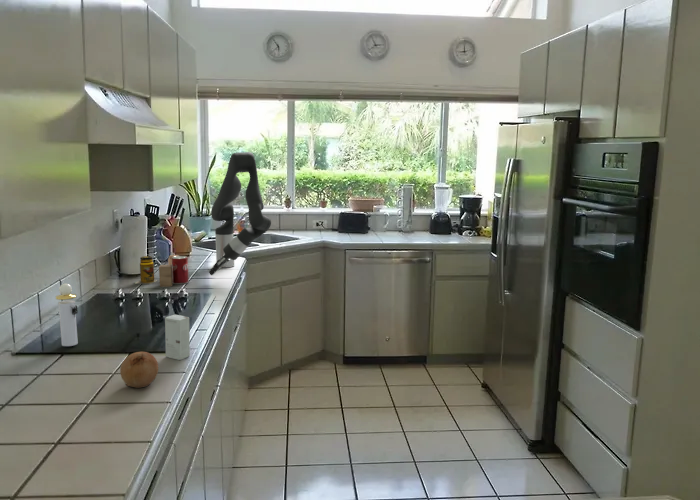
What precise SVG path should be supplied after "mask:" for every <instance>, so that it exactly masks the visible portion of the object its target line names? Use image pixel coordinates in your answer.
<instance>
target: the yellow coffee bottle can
mask: <svg viewBox="0 0 700 500" xmlns="http://www.w3.org/2000/svg"><path fill="white" fill-rule="evenodd" d="M139 271H140V272H139V273H140V280H138V281H136V282H135V284H143V285H144V284H145V285H152V284H153V283H156V282H157V281H158V280H157V279H156V280H155V265H154V262H153V256H151V255H146V256H145V255H143V256H141V257H140V263H139ZM158 282H159V281H158Z"/></svg>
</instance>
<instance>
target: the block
mask: <svg viewBox="0 0 700 500" xmlns="http://www.w3.org/2000/svg"><path fill="white" fill-rule="evenodd" d="M158 272H159V273H158V275H159V277H158V278H159V287H160V288H166V287H168V288H169V287H172V286H173V284H174V283H173V280H172V265H168V264H161V265H160V264H159V267H158Z"/></svg>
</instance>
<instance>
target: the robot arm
mask: <svg viewBox="0 0 700 500" xmlns="http://www.w3.org/2000/svg"><path fill="white" fill-rule="evenodd" d="M238 173H239V174H240V173H248V175H249V181H248V183H247V186H246V189H245V192H244V194H245V196H244V197H245V201H246V204H247V205H246V206H247V208H248V221H249V224H250V227H244V228H242V230H241V231H239V232H238V233H237V234H236V236H234V221H235V219H234V217H235V213H234V212H235V211H234V210H235V209H234V205H233V204H232V202H233V201H235V200H236V199H237V198H239V195H240V192H241V189H242V183H241V180H240V178H239V177H238V176H237V174H238ZM263 201H264V200H263V198H262V194H261V191H260V184H259V177H258V169H257V162H256V158H255V155H254V153H253V152H249V151H245V152H244V151H243V152H242V151H241V152H240V151H239V152H233V153H232V154H231V155H230V157H229V162H228V166H227V170H226V173H225V176H224V179H223V181H222V184H221V187H220V189H219V193H218V195H217V197H216V199H215V201H214V202H213V205H212V207H211V211H210V213H211V214H210V215H211V218H212V220H213V221H216V222H224V223H223V224H222V225H220V226H218V227H216V228H215V231H214V233H215V255H216V256H215V263H214V264H213V265H212V266H213V267H212V268H210V270H209V271H208V274H210V275H211V276H214V274H215V273H216V272H217V271H219V270H220V269H221V268H231V267H235V261H236V260H237V259H238V258H239V257H240V256H241V255H242V254H243V253H245V251H246V250H247V248H248V247H249V246H250V244H252V243H253V242H254V241H255V240H256V239H257V238H260V237H261V236H262V235H264V234H265V233H266V232H267V231H269V229H270V228H271V225H272V221H271V219H270V217H268V216H267V215H264V214H263V213H262V211H263V210H264V208H265V206H264V202H263Z"/></svg>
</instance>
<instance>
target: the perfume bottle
mask: <svg viewBox="0 0 700 500" xmlns="http://www.w3.org/2000/svg"><path fill="white" fill-rule="evenodd" d="M58 291H59V293H60V294H57V295H56V296H55V300H57V301H58V312H59V314H58V315H59V316H58V317H59V325H60V326H59V327H60V328H59V329H60V339H61V346H62V347H72V346H73V347H74V346H76V345H78V343H79V341H78V328H77V318H76V317H77V315H76V314H78V313H79V312H78V305H76V304H75V303H76V301H75V300H73V299H77V294H76V293H72V292H73V288H72V285H71V284H69V283H62V284H60V286H59V288H58Z"/></svg>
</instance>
